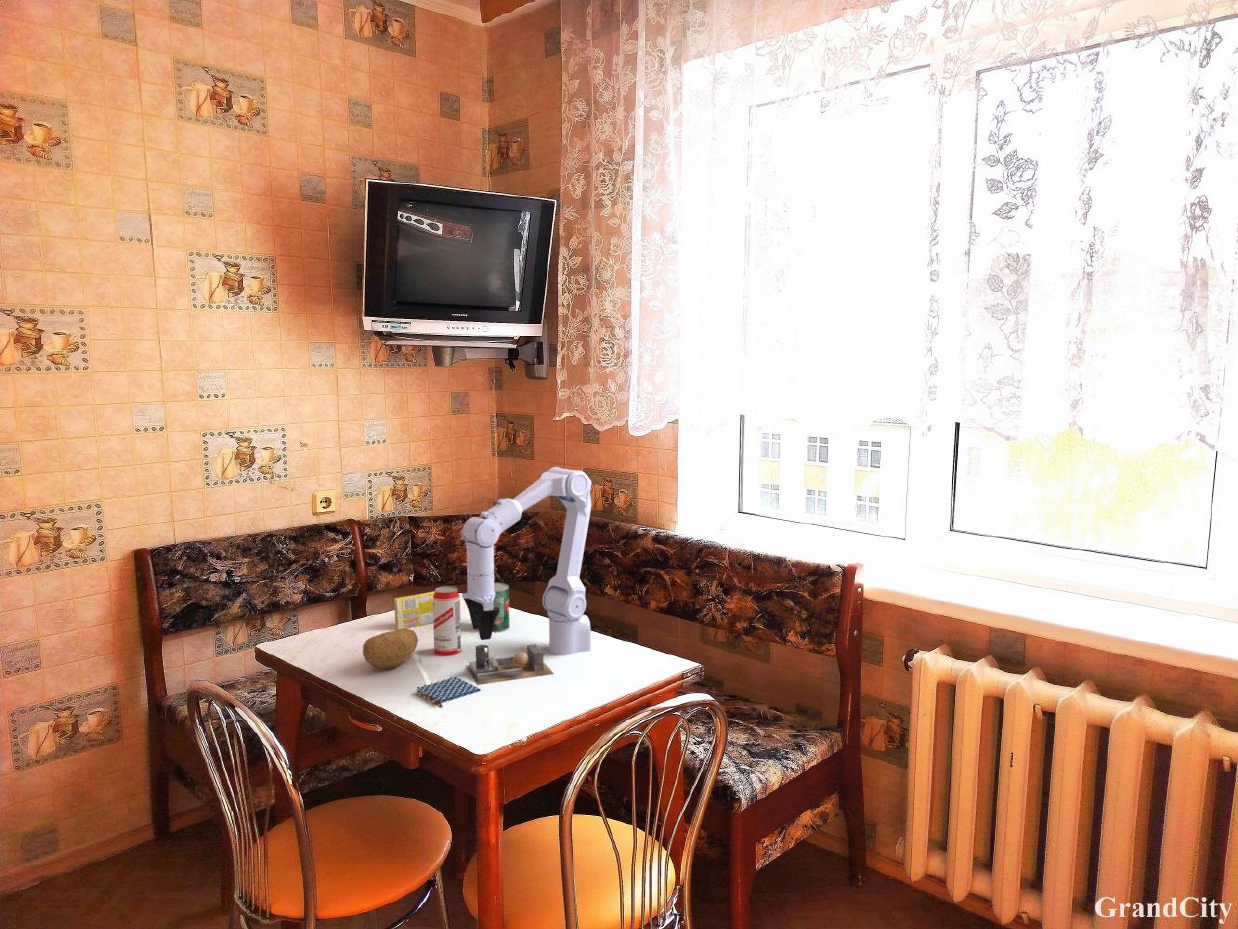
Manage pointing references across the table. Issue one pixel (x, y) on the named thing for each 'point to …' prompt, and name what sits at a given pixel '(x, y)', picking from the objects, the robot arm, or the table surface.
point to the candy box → (413, 610)
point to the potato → (390, 648)
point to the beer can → (446, 621)
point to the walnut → (521, 660)
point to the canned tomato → (501, 607)
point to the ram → (483, 661)
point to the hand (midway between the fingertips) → (481, 633)
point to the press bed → (514, 668)
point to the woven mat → (446, 690)
